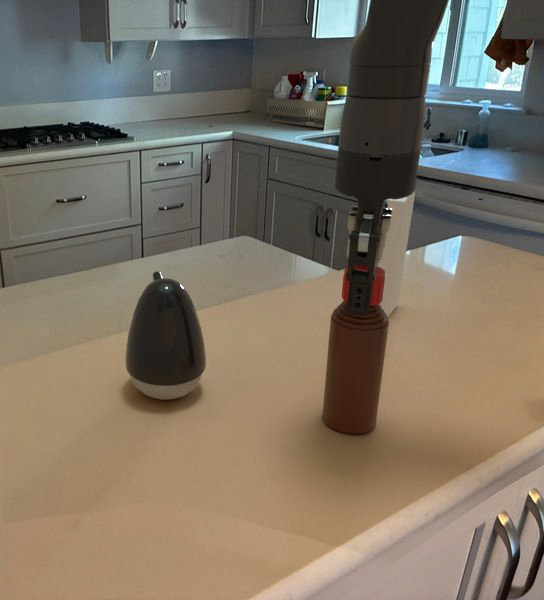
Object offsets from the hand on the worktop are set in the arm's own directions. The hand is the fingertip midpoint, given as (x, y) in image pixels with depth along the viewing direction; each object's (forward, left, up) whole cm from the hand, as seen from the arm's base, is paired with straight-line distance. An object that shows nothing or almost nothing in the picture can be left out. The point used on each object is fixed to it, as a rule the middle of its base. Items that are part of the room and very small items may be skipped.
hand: (359, 304), depth 66 cm
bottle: (0, 0, -15) cm, 15 cm away
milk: (-1, -34, -15) cm, 37 cm away
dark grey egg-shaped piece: (+22, +1, -15) cm, 27 cm away
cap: (0, 0, +1) cm, 1 cm away
